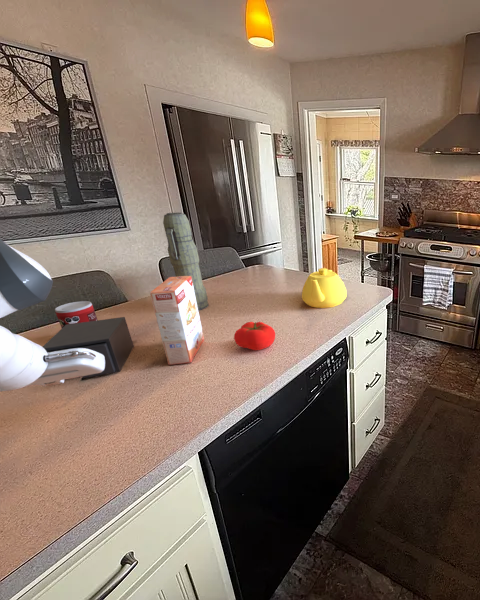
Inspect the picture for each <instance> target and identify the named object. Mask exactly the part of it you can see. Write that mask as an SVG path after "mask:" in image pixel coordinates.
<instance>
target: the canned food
mask: <svg viewBox="0 0 480 600" xmlns="http://www.w3.org/2000/svg"><path fill="white" fill-rule="evenodd" d="M54 311H55V315H56V318H57V320H58V323H59V325H60V328H61V329H62V328H63V327H64V326H65V325H67V324H75V323H82V322H90V321H97V320H98V317H97V314H96V312H95V311H96V310H95V308H94V305H93V303H92V302H91V301H90V300H89V301H87V300H81V301H74V302H69V303H65V304H62V305H59V306H57V307H55V308H54Z"/></svg>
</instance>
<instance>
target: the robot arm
mask: <svg viewBox="0 0 480 600" xmlns="http://www.w3.org/2000/svg"><path fill="white" fill-rule="evenodd" d="M53 284H54V280H53V279H52V277H51V275H50V273H49V272H48V270H47V269H46V268H45V267H44V266H43V265H41V263H39V262H38V261H37V260H35V259H33V258H32V257H31V256H29V255H27V254H25V253H24V252H22V251H20V250H19V249H16V248H14V247H12V246H10V245H9V244H8V243H7V242H5V241H4V240H3V239H2V238H0V319H1V318H4V317H7V316H8V315H10V314H12V313H15V312H18V311H22V310H24V309H27V308H29V307H32V306H35V305H37V304H40V303H43V302H45V301H46V300H47V298H48V297H49V295H50V293H51V291H52V288H53ZM104 369H105V357H104V355H102V354H100V353H98V352H96V351H93V350H90V349H86V348H74V349H67V350H61V351H55V352H48V353H47V351H46V350H45V349H44V348H43V345H41V344H38V343H36V342H34V341H32V340H31V339H28V338H26V337H24V336H22V335H20V334H17V333H14V332H12V331H10V330H9V329H8V328H6V327H4V326H2V325H0V392H9V391H15V390H20V389H22V388H26V387H32V386H42V387H50V386H54V385H55V386H56V385H59V384H60V385H61V384H64V383H65V381H66V380H65V379H67V380H71V379H70V378H72V379H76V378H75V377H78V378H82V377H81V376H86V375H91V374H97V373H101V372H102V371H103V370H104Z"/></svg>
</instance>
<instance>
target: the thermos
mask: <svg viewBox="0 0 480 600" xmlns="http://www.w3.org/2000/svg"><path fill="white" fill-rule="evenodd" d="M162 223H163V228H164V232H165V236H166V240H167V244H168V245H167V253H168V257H169V261H170V264H171V266H172V267H173V271H174V275H175V277H179V276H191V277H192V283H193V287H194V292H195V297H196V302H197V307H198V311H202V310H204V309H206V308H208V307H209V301H208V300H209V299H208V293H207V289H206V287H205V285H204V282H203V278H202V273H201V268H200V264H199V263H200V257H199V252H198V248H197V245H196V243H195V242H194V239H193V237H192V236H193V233H192V228H191V225H190V224H191V223H190V220H189V218H188V217H187V215H186V214H185V213H183V212H167V213H165V214H164V215H163V219H162Z"/></svg>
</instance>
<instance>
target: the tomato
mask: <svg viewBox="0 0 480 600" xmlns="http://www.w3.org/2000/svg"><path fill="white" fill-rule="evenodd" d="M233 339H234V342H235V344H236V345H237V346H238V347H240V348H243V349H249V350H253V351H261V350H264V349H267V348H269V347H271V346H272V345H273V344H274V341H275V339H276V331H275V329H274V328H273V327H272V326H270V325H269V324H267V323H264V322H262V321H257V322H254V321H247V322H246V323H243V324H242V325H241V327H240V328H239V329H237V330H236V331H235V333H234V335H233Z"/></svg>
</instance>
